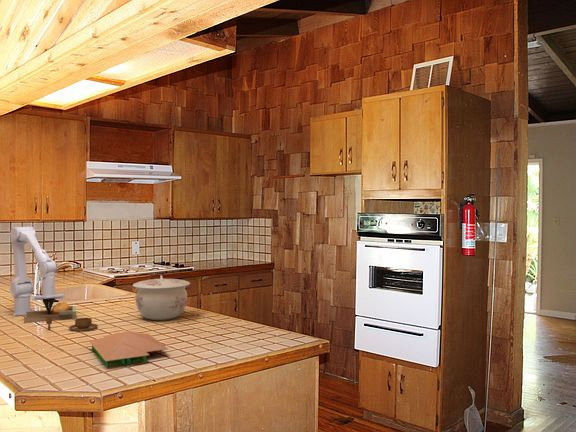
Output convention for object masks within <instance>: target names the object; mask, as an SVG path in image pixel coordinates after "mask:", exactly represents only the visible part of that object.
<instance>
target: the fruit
mask: <svg viewBox="0 0 576 432" xmlns="http://www.w3.org/2000/svg"><path fill="white" fill-rule="evenodd" d="M69 306H70V305H69V304H68V303H67V302H59V303H57V304H55V305H54V306H52V308H51V310H52V312H53V314H54V315H57V314H59V311H70V308H69Z"/></svg>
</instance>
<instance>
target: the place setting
mask: <svg viewBox="0 0 576 432" xmlns="http://www.w3.org/2000/svg"><path fill="white" fill-rule="evenodd" d="M92 321H93V319H92V317H80V318H79V317H78V318H76V319H74V324H72V325H70V326H68V329H69V331H70V332H76V333H77V332H81V333H82V332H90V331H94V330H96V329H98V326H99V324H97V323H93V322H92ZM45 323H46V324H47V325H48V327H47V329H48V330H47V331H51V327H52V326H51V324H53V321H52V317H48V318H46V321H45Z"/></svg>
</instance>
